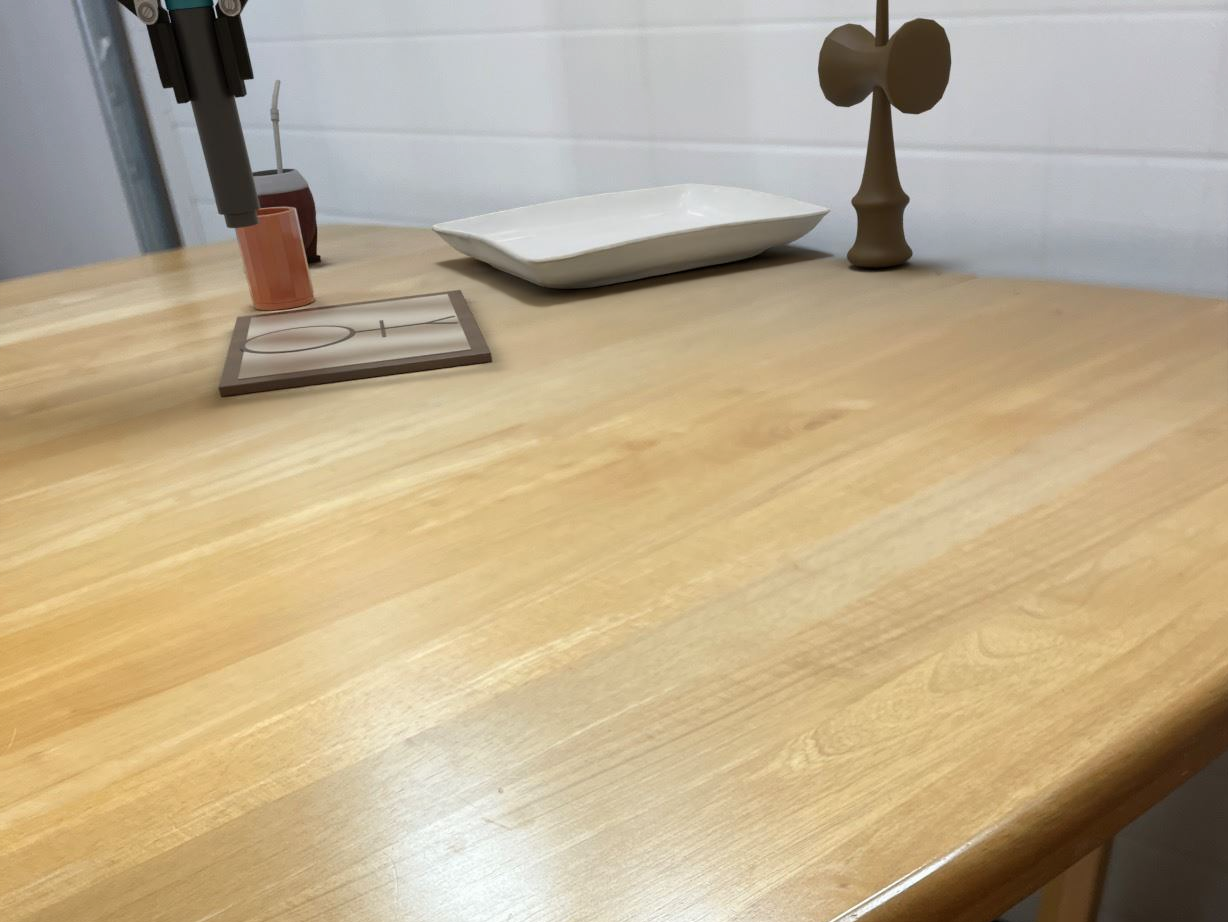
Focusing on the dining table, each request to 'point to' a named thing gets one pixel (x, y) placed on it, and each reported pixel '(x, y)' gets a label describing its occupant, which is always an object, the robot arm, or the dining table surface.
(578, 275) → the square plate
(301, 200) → the mate gourd
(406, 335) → the framed picture
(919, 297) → the dining table surface
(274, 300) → the pen cup
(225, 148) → the marker
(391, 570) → the dining table surface
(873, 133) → the kendama
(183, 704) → the dining table surface
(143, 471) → the dining table surface
